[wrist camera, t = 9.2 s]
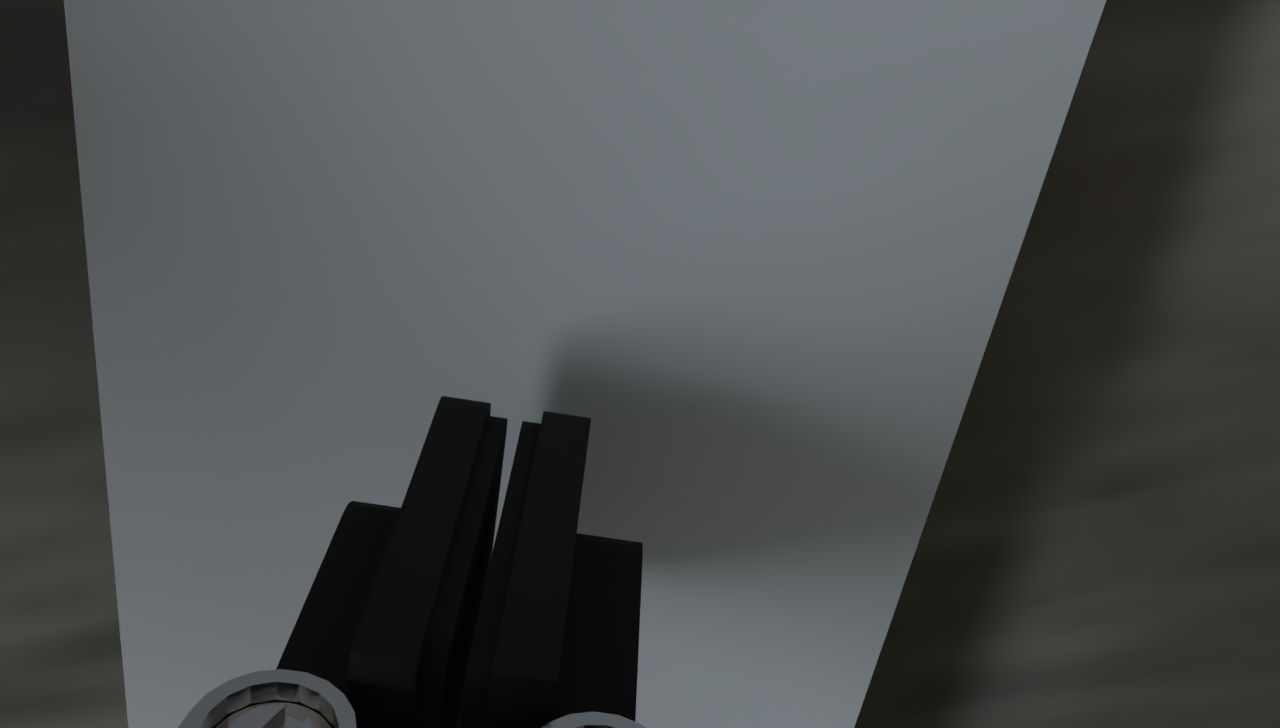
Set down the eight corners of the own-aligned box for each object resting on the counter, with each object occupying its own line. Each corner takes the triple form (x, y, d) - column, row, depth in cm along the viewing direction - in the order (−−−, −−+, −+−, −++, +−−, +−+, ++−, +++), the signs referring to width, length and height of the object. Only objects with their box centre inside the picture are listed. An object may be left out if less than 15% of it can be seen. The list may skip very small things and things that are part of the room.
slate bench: (118, -1078, 9) (-56, -1334, 7) (1279, -836, 10) (1454, -1003, 8) (198, 683, 19) (135, 807, 17) (783, 763, 19) (797, 892, 17)
